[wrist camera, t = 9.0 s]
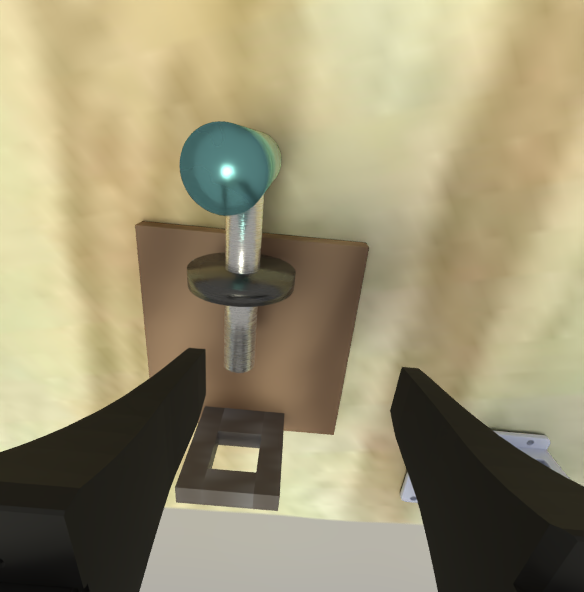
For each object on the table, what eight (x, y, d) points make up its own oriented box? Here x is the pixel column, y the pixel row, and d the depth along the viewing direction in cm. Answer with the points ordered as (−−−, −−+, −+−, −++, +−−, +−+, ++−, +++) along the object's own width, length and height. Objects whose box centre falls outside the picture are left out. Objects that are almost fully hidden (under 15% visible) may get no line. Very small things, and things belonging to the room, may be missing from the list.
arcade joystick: (308, 136, 16) (313, 130, 10) (287, 338, 21) (281, 432, 14) (204, 125, 16) (134, 112, 10) (206, 331, 21) (160, 422, 14)
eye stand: (365, 242, 20) (397, 291, 13) (332, 424, 26) (343, 521, 19) (142, 221, 20) (64, 259, 13) (158, 409, 25) (109, 501, 19)
